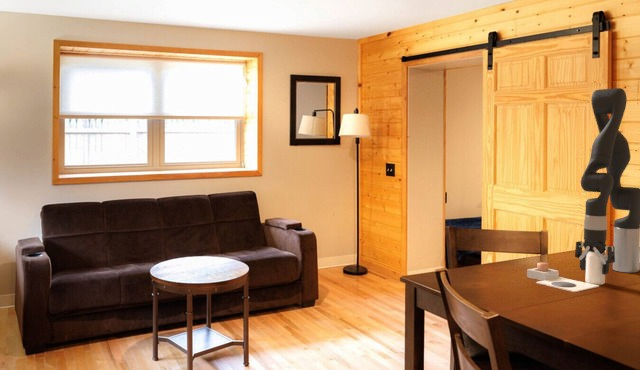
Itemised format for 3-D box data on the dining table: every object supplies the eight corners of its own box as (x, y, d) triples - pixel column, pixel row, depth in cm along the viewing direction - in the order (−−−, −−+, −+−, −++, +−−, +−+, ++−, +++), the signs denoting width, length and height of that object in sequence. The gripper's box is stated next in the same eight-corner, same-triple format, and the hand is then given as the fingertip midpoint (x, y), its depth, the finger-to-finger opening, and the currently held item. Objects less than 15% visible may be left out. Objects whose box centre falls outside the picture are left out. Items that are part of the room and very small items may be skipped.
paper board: (560, 278, 232) (560, 277, 232) (599, 286, 218) (599, 285, 218) (535, 283, 224) (535, 281, 224) (574, 292, 211) (574, 290, 211)
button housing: (540, 274, 238) (540, 266, 238) (558, 278, 231) (558, 270, 231) (526, 277, 234) (527, 269, 233) (544, 281, 227) (544, 273, 227)
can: (606, 285, 220) (608, 252, 219) (587, 285, 221) (588, 252, 220) (602, 281, 226) (603, 249, 225) (583, 280, 227) (584, 248, 226)
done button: (541, 272, 235) (541, 262, 235) (550, 274, 232) (550, 263, 231) (534, 273, 233) (535, 263, 233) (543, 275, 230) (544, 265, 229)
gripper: (620, 229, 218) (618, 274, 219) (584, 224, 230) (582, 267, 231) (607, 231, 214) (606, 277, 215) (571, 226, 226) (570, 269, 227)
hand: (593, 272), depth 223 cm, fingers open, 8 cm apart
